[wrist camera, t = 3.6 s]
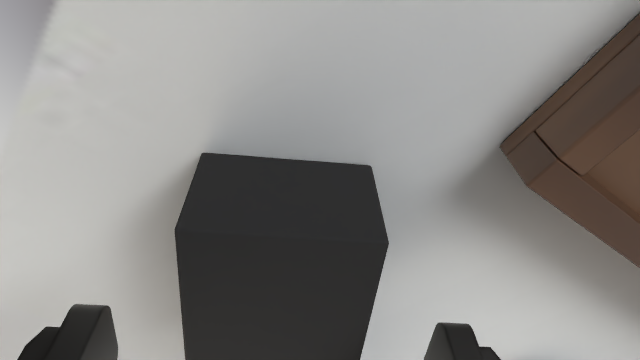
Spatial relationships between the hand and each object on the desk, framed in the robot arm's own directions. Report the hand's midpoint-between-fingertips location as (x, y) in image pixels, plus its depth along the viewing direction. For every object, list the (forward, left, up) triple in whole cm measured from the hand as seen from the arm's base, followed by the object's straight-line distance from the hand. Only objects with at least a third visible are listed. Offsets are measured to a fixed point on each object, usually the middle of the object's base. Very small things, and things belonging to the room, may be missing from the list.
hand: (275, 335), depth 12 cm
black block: (0, 0, -4) cm, 4 cm away
